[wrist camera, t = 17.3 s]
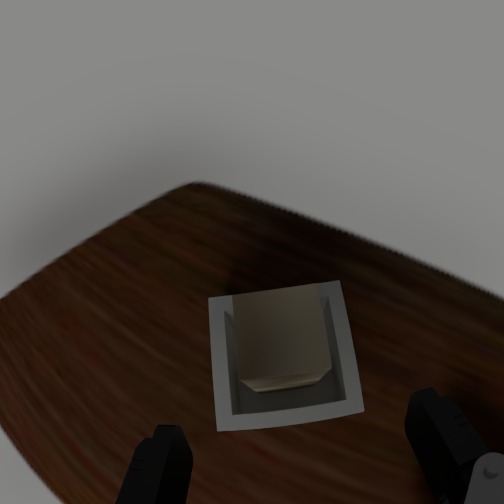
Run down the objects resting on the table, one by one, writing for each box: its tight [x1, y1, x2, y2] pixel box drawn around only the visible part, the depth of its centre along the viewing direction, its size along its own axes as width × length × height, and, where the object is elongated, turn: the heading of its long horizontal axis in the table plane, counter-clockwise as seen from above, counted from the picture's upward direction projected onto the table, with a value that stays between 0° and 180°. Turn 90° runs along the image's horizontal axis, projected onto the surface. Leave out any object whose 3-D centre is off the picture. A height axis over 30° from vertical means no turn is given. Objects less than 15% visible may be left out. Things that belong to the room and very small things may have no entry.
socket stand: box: [208, 280, 364, 431], centre depth 21 cm, size 9×9×5 cm
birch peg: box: [232, 283, 332, 394], centre depth 18 cm, size 4×4×10 cm
